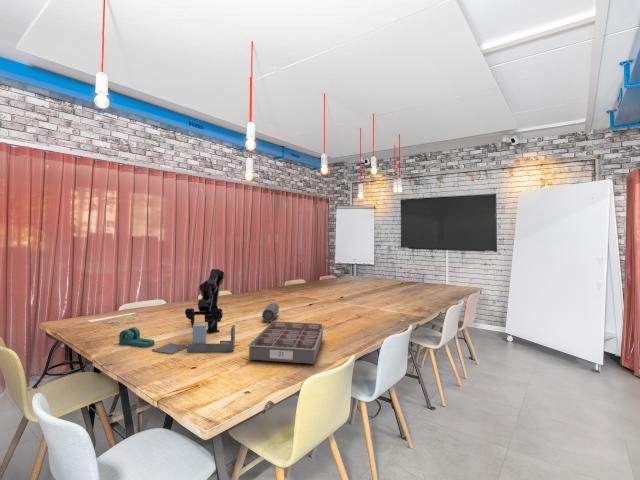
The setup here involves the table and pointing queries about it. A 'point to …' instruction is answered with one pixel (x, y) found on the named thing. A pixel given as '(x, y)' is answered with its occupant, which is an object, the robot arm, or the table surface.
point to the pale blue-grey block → (199, 334)
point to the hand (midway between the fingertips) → (201, 327)
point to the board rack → (214, 345)
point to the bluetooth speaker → (270, 312)
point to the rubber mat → (170, 348)
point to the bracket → (134, 338)
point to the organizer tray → (287, 342)
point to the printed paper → (113, 317)
